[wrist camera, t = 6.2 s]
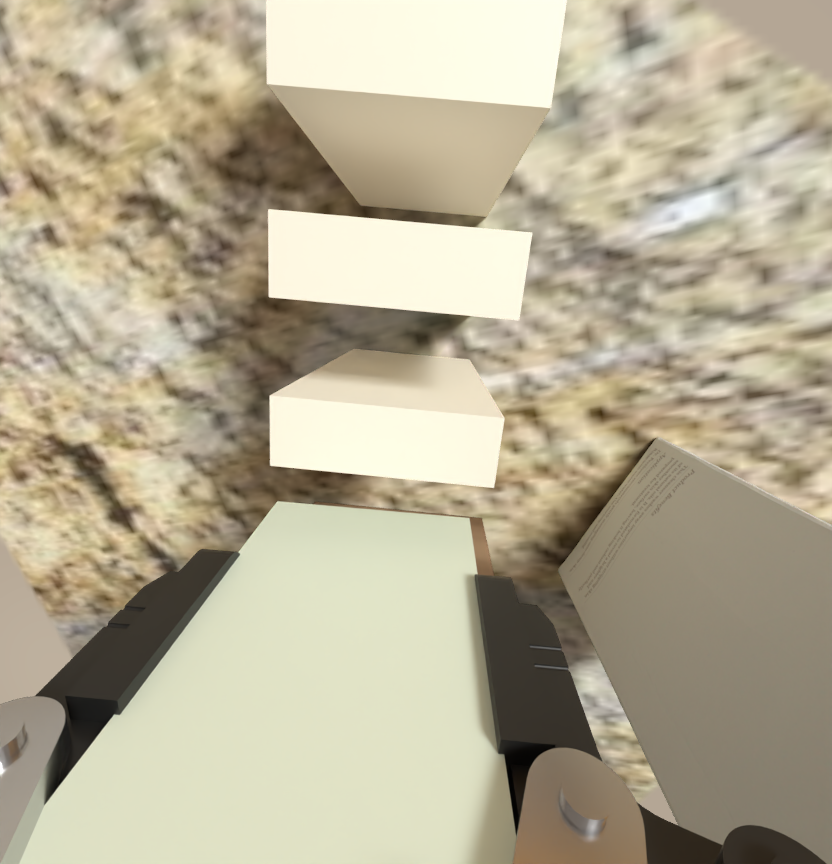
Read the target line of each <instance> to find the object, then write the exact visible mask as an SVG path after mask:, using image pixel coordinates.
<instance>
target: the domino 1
mask: <svg viewBox="0 0 832 864" xmlns="http://www.w3.org/2000/svg"><path fill="white" fill-rule="evenodd" d="M238 553H240V556H239V557H238V558H237V560H236V561H235V562H234V564H233V565H232V566H231V568H230V569H229V570H228V572H227V573H226V574H225V576H224V577H223V578H222V580H221V581H220V582H219V584H218V585H217V586H216V588H215V589H214V590H213V592H212V593H211V594H210V596H209V597H208V598H207V600H206V601H205V602H204V604H203V605H202V606H201V608H200V609H199V610H198V612H197V613H196V614H195V616H194V617H193V618H192V620H191V621H190V622H189V624H188V625H187V626H186V628H185V629H184V630H183V632H182V633H181V634H180V636H179V637H178V638H177V640H176V641H175V642H174V644H173V645H172V646H171V648H170V649H169V650H168V652H167V653H166V654H165V656H164V657H163V658H162V660H161V661H160V662H159V664H158V665H157V666H156V668H155V669H154V670H153V672H152V673H151V674H150V676H149V677H148V678H147V680H146V681H145V682H144V684H143V685H142V686H141V688H140V689H139V690H138V692H137V693H136V694H135V696H134V697H133V698H132V700H131V701H130V702H129V704H128V705H127V706H126V708H125V709H124V710H123V712H122V713H121V714H120V715H113V717H112V718H111V719H110V720H109V722H108V723H107V724H106V726H105V727H104V728H103V730H102V731H101V732H100V734H99V735H98V736H97V737H96V739H95V740H94V741H93V743H92V744H91V745H90V747H89V748H88V749H87V751H86V752H85V753H84V754H83V756H82V757H81V758H80V760H79V761H78V762H77V764H76V765H75V766H74V767H73V769H72V770H71V771H70V773H69V774H68V775H67V777H66V778H65V779H64V781H63V782H62V783H61V784H60V786H59V787H58V788H57V790H56V791H55V792H54V794H53V795H52V796H51V798H50V799H49V800H48V801H47V803H46V804H45V805H44V807H43V810H42V812H41V814H40V817H39V819H38V821H37V823H36V826H35V828H34V830H33V833H32V835H31V837H30V840H29V842H28V844H27V847H26V849H25V851H24V854H23V856H22V858H21V861H20V863H19V864H512V859H513V853H514V847H515V841H516V832H515V825H514V818H513V811H512V804H511V798H510V791H509V784H508V777H507V770H506V764H505V757H504V754H498V750H497V742H496V735H495V727H494V720H493V712H492V705H491V697H490V690H489V682H488V675H487V667H486V660H485V652H484V645H483V637H482V630H481V622H480V615H479V607H478V600H477V592H476V585H475V577H474V576H475V574H478V573H477V566H476V559H475V553H474V546H473V539H472V532H471V525H470V519H469V518H463V517H452V516H441V515H429V514H418V513H406V512H395V511H383V510H372V509H361V508H349V507H338V506H326V505H315V504H303V503H292V502H281V501H277V502H276V504H275V505H274V506H273V508H272V509H271V510H270V511H269V513H268V514H267V515H266V517H265V518H264V519H263V521H262V522H261V523H260V525H259V526H258V527H257V528H256V530H255V531H254V532H253V534H252V535H251V536H250V538H249V539H248V540H247V542H246V543H245V544H244V545H243V547H242V548H241V549H240V551H239V552H238Z"/></svg>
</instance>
